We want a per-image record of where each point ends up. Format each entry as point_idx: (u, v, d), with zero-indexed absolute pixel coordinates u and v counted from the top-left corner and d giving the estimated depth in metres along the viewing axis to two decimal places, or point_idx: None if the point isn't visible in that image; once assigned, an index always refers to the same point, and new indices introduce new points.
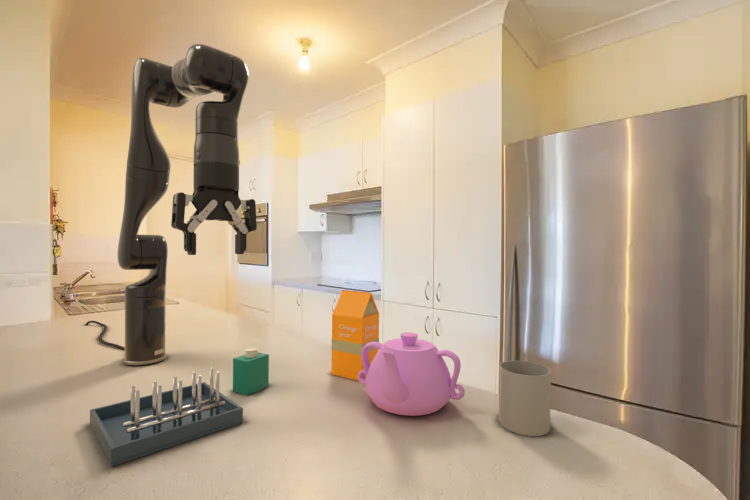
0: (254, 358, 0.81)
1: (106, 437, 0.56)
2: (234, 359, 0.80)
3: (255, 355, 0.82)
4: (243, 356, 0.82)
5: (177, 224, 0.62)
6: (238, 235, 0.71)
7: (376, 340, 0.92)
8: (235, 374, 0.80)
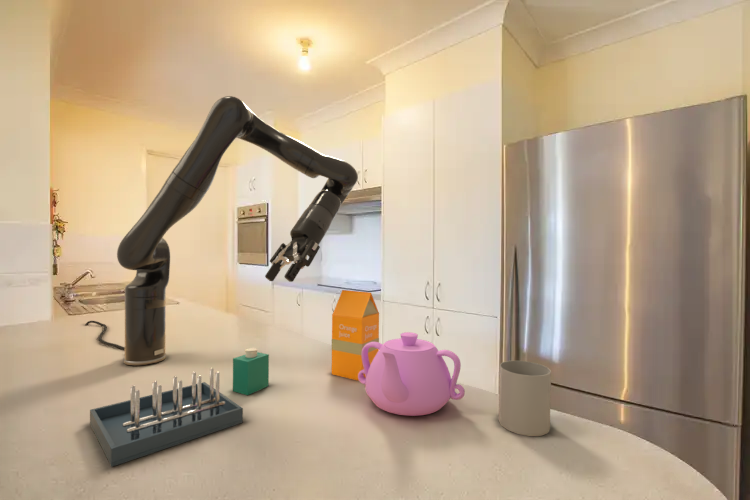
0: (254, 358, 0.81)
1: (106, 437, 0.56)
2: (234, 359, 0.80)
3: (255, 355, 0.82)
4: (243, 356, 0.82)
5: (309, 264, 0.86)
6: (277, 268, 0.92)
7: (376, 340, 0.92)
8: (235, 374, 0.80)
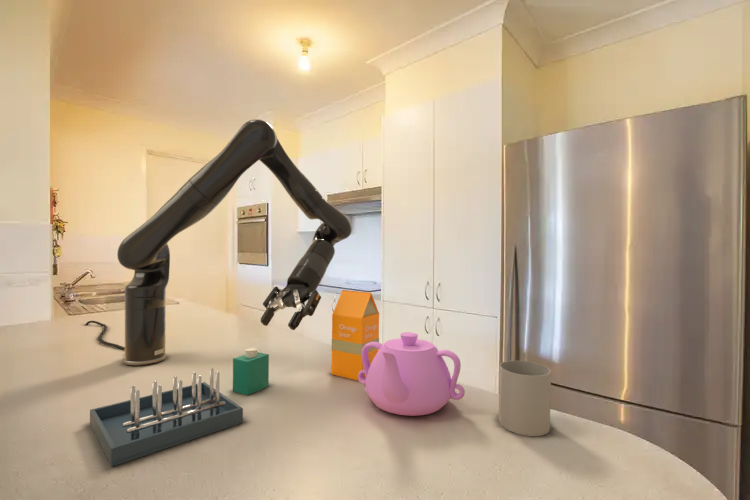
0: (254, 358, 0.81)
1: (106, 437, 0.56)
2: (234, 359, 0.80)
3: (255, 355, 0.82)
4: (243, 356, 0.82)
5: None
6: (272, 312, 0.93)
7: (376, 340, 0.92)
8: (235, 374, 0.80)
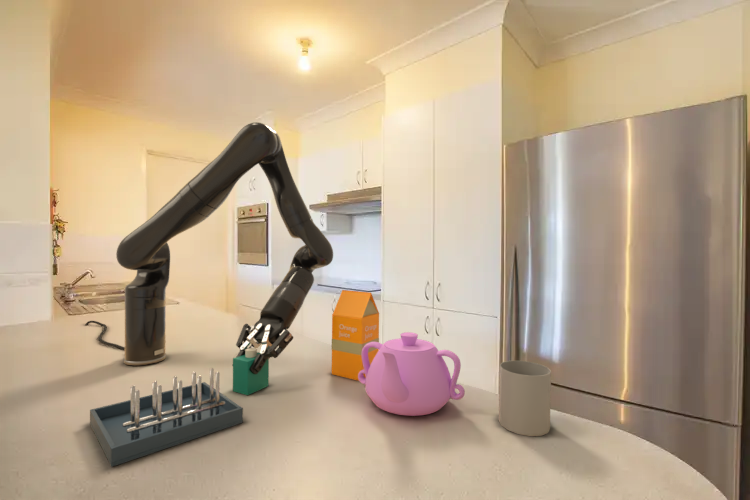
0: (254, 358, 0.81)
1: (106, 437, 0.56)
2: (234, 359, 0.80)
3: (255, 355, 0.82)
4: (243, 356, 0.82)
5: None
6: None
7: (376, 340, 0.92)
8: (235, 374, 0.80)
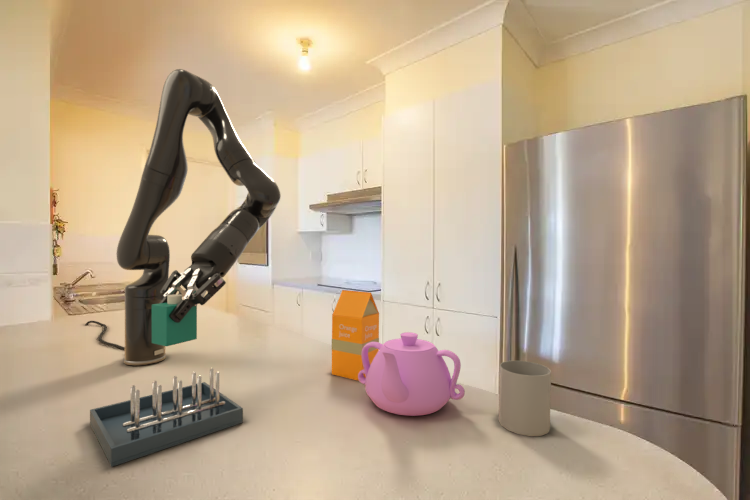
0: (176, 304, 0.69)
1: (106, 437, 0.56)
2: (153, 305, 0.69)
3: None
4: (165, 303, 0.70)
5: None
6: None
7: (376, 340, 0.92)
8: (154, 322, 0.68)
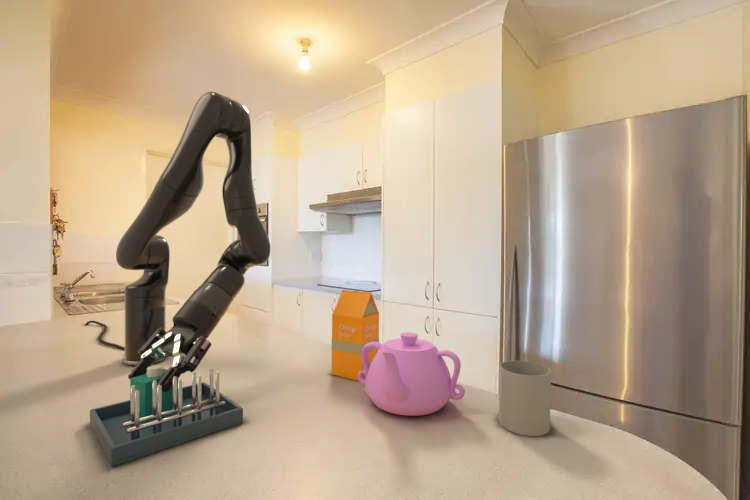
0: (156, 378, 0.66)
1: (106, 437, 0.56)
2: (131, 379, 0.66)
3: (159, 374, 0.67)
4: (145, 375, 0.68)
5: (194, 369, 0.67)
6: (148, 364, 0.71)
7: (376, 340, 0.92)
8: None
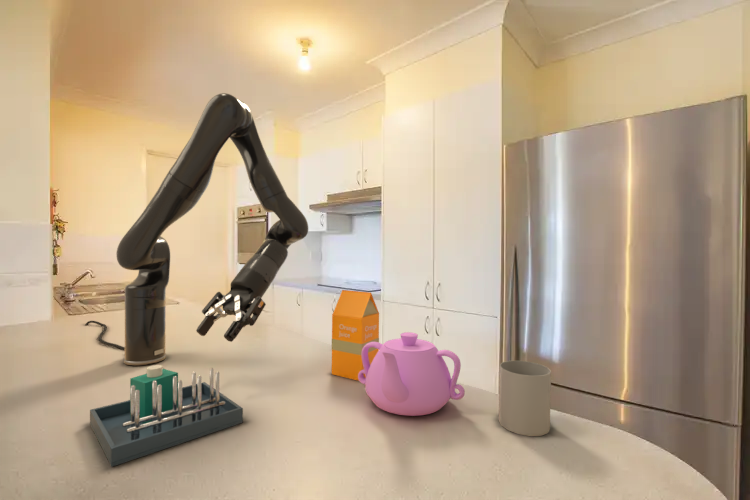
0: (156, 378, 0.66)
1: (106, 437, 0.56)
2: (131, 379, 0.66)
3: (159, 374, 0.67)
4: (145, 375, 0.68)
5: (253, 323, 0.80)
6: (211, 321, 0.83)
7: (376, 340, 0.92)
8: None
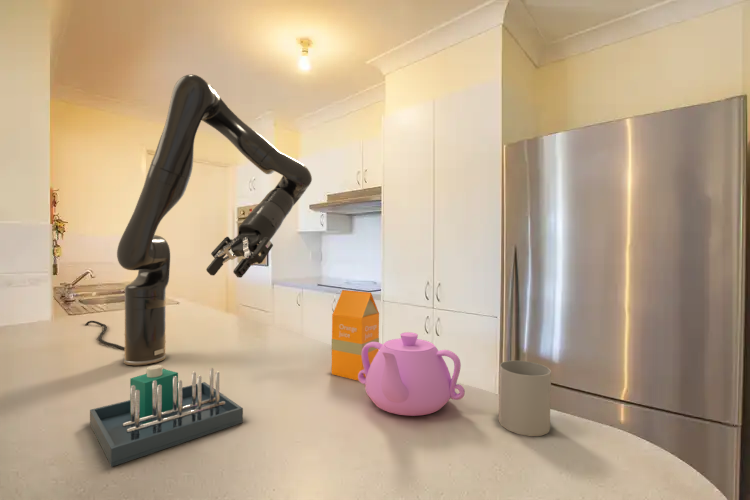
0: (156, 378, 0.66)
1: (106, 437, 0.56)
2: (131, 379, 0.66)
3: (159, 374, 0.67)
4: (145, 375, 0.68)
5: (261, 261, 0.82)
6: (220, 262, 0.86)
7: (376, 340, 0.92)
8: None
